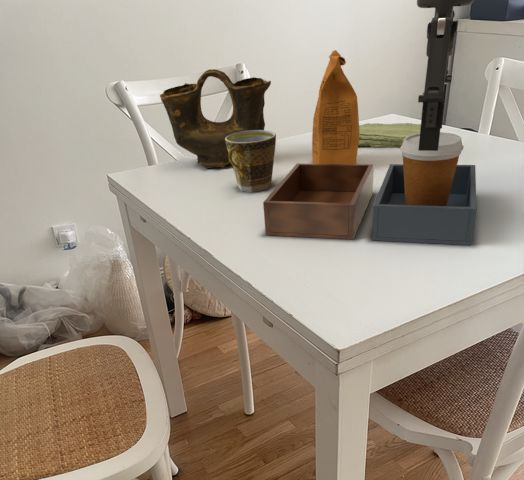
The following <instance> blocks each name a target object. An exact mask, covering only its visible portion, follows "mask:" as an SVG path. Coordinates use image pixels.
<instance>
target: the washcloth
mask: <svg viewBox="0 0 524 480" xmlns="http://www.w3.org/2000/svg"><path fill="white" fill-rule="evenodd" d="M420 129H421V123H413V122H410V123H409V122H406V123H405V122H403V123H378V122H377V123H368V122H367V123H364V124H359V145H358V147H371V148H377V147H378V148H380V147H385V148H386V147H387V148H399V147H401V146H402V144H403V141H404V138H405V137H407V136H410V135H413V134H418V133H420Z"/></svg>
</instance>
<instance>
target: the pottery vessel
mask: <svg viewBox="0 0 524 480" xmlns="http://www.w3.org/2000/svg"><path fill="white" fill-rule="evenodd" d="M208 78H216V79H218V80H219V81H220V82H222V83H223V85H224V86H225V88H227V91H228V94H229V95H230V99H231V104H232V113H231V115H230V118H228V119H227V120H225V121H218V122H217V121H212V120H209V119H208V118H206V117H205V116H204V114H203V111H202V91H203V87H204V85H205V82H206V81H207V80H208ZM271 84H272V81H271V80H268V81H267V80H265V79H263V78H261V77H254V76H252V77H250V78H249V77H248V78H244V79H241V80H238V81H236V82H232V80H231V78H230V77H229V75H227V74H226V73H225V72H224V71H222V70H219V69H215V68H214V69H212V68H211V69H207V70H205V71H204V72H203V73H202V74H201V75H200V77H199V78H198V79H197V82H196V83H187V82H185V83H184V84H183V85H177V86H174V87H170V88H167V89H165V90H163V92H162V93H161V94H159V97H160V101H161V102H162V104H163V107H164V109H165V111H166V114H167V116H168V120H169V123H170V125H171V128H172V134H173V137H174V139H175V143H176V144H177V145H178V146H179V147H180V148H182V149H184V150H186V151H188V152H189V153H190V154H193V155H195V156H196V158H197V164H198V165H199V164H200V163H201V164H200V165H201V166H202V167H203V168H204V169H211V168H216V167H218V168H224V167H225V166H226V165H228V164H230V161H229V153H228V149H227V145H226V141H225V138H226V137H227V136H229V135H231V134H234V133H238V132H243V131H250V130H265V127H266V122H265V116H264V109H265V103H266V101H265V93H266V92H267V90H268V89H269V88H270V86H271Z"/></svg>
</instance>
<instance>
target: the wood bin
mask: <svg viewBox="0 0 524 480" xmlns="http://www.w3.org/2000/svg"><path fill="white" fill-rule="evenodd" d="M374 168H375V164H374V163H356V164H313V163H302V162H301V163H300V162H299V163H298V162H297V163H296V164H295V165H294V166H293V167H292V168H291V169H290V170H289V172H288V173H287V174H286V175H285V177H284V178H282V180H281V181H280V182H279V184H277V186H275V188H274V190H272V191H271V192H270V194H269V195H268V196H267V197H266V198H265V199H264V201H262V202H263V203H262V206H263V215H264V216H263V217H264V229H265V230H264V231H265V236H275V237H276V236H277V237H278V236H279V237H295V238H296V237H298V238H318V239H337V240H338V239H339V240H355V237H356V234H357V231H358V230H359V226H360V225H361V223H362V220H363V219H364V218H363V217H364V215H365V213H366V210H367V208H368V206H369V203H370V201H371V198H372V196H373V194H374V170H375V169H374Z"/></svg>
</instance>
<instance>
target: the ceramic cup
mask: <svg viewBox="0 0 524 480" xmlns="http://www.w3.org/2000/svg"><path fill="white" fill-rule="evenodd" d="M225 141H226V145H227V149H228V153H229V161H230V162H229V164H231V165H232V168H233V172H234V176H235V179H236V184H237V186H238V188H239V189H240V191H241V192H245V193H246V192H247V193H254V192H261V191H265V190H267V189H269V188H270V187H271V186H272V181H273V170H274V162H275V161H274V159H275V154H276V145H277V144H276V142H277V134H276V133H275V132H274V131H271V130H266V129H264V130H250V131H243V132H238V133H234V134H231V135H229V136H227V137H226V138H225Z"/></svg>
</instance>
